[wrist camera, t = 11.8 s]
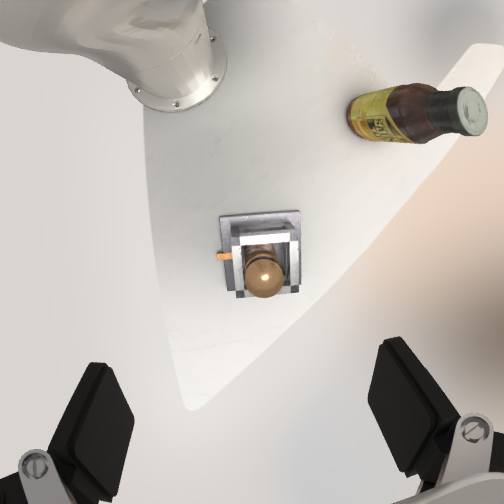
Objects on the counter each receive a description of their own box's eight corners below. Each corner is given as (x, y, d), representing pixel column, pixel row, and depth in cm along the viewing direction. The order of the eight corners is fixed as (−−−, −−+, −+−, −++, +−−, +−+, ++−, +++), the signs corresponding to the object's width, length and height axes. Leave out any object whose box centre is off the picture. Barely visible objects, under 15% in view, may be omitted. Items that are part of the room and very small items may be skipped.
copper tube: (245, 237, 38) (246, 261, 31) (278, 240, 39) (286, 264, 31) (243, 267, 40) (243, 297, 32) (274, 269, 40) (281, 299, 32)
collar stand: (213, 216, 38) (210, 228, 33) (298, 210, 39) (308, 220, 33) (221, 288, 42) (220, 308, 36) (299, 281, 42) (308, 300, 37)
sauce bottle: (339, 130, 35) (432, 123, 17) (352, 87, 33) (447, 53, 15) (381, 149, 36) (486, 162, 18) (393, 108, 34) (499, 98, 16)
